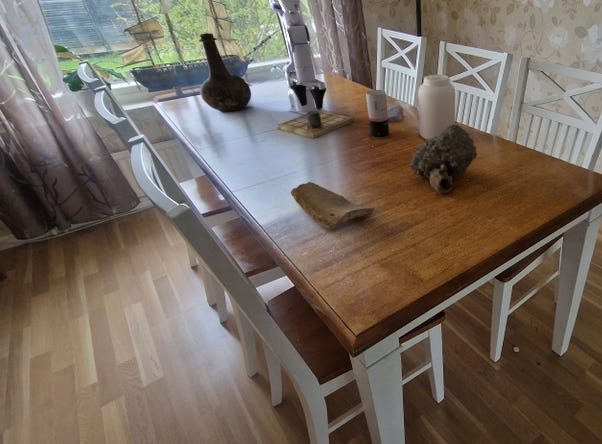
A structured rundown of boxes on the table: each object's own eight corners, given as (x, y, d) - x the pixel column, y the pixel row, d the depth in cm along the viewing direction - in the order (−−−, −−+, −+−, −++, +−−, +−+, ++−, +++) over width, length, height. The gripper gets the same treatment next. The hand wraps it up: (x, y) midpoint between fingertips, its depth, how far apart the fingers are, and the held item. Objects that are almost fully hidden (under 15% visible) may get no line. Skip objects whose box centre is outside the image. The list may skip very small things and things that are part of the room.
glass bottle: (263, 106, 158) (243, 33, 143) (222, 118, 146) (196, 38, 130) (238, 99, 166) (217, 29, 150) (197, 110, 154) (170, 34, 138)
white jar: (428, 144, 127) (427, 83, 115) (414, 132, 136) (411, 74, 124) (460, 138, 131) (462, 78, 120) (444, 126, 141) (445, 70, 129)
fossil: (325, 200, 101) (289, 206, 93) (326, 177, 98) (289, 181, 91) (375, 229, 88) (338, 239, 81) (377, 204, 86) (339, 211, 79)
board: (278, 128, 137) (277, 124, 136) (318, 113, 151) (318, 109, 151) (313, 138, 130) (312, 133, 129) (352, 121, 144) (352, 117, 143)
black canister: (306, 126, 134) (303, 113, 132) (315, 123, 138) (313, 109, 135) (315, 129, 133) (312, 115, 130) (324, 125, 136) (322, 111, 133)
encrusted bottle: (447, 110, 102) (457, 119, 89) (481, 147, 108) (496, 161, 95) (401, 158, 106) (403, 173, 92) (436, 191, 111) (444, 210, 98)
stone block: (400, 126, 145) (405, 113, 152) (398, 115, 141) (403, 102, 148) (370, 126, 146) (376, 113, 153) (368, 115, 142) (374, 102, 149)
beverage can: (366, 136, 131) (361, 93, 123) (378, 131, 136) (373, 88, 128) (382, 140, 129) (377, 96, 120) (393, 134, 134) (389, 91, 125)
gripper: (279, 65, 124) (288, 106, 132) (310, 71, 118) (318, 113, 126) (296, 61, 129) (304, 101, 137) (326, 67, 123) (333, 108, 131)
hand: (312, 107), depth 132 cm, fingers open, 7 cm apart
